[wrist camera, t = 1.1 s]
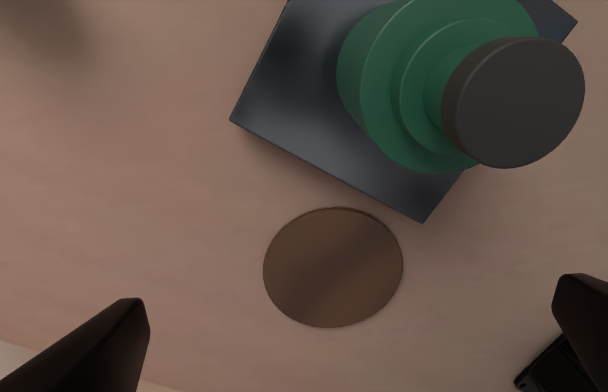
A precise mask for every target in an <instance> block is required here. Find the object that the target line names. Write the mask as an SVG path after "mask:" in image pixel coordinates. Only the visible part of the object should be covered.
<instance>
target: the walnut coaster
mask: <svg viewBox="0 0 608 392" xmlns="http://www.w3.org/2000/svg"><path fill="white" fill-rule="evenodd" d="M402 267H403V262H402V254H401V251H400V248H399V245H398V243H397V241H396V239H395V238H394V236H393V234H392V233H391V232H390V230H389V229H388V228H387V227H386V226H385V225H384V224H383V223H381V222H380V221H379V220H377V219H376V218H374V217H372V216H371V215H368V214H366V213H364V212H361V211H358V210H354V209H348V208H324V209H319V210H315V211H312V212H309V213H306V214H304V215H302V216H299V217H297V218H296V219H294V220H293V221H291V222H290V223H288V224H287V225H286V226H285V227H283V228H282V229H281V230H280V231H279V233H278V234H277V235H276V236H275V237H274V239H273V240H272V242H271V243H270V245H269V247H268V249H267V252H266V255H265V259H264V265H263V279H264V284H265V288H266V291H267V293H268V295H269V297H270V299H271V300H272V302H273V303H274V304H275V305H276V306H277V308H278V309H279V310H280V311H282V312H283V313H284V314H285V315H287V316H288V317H290V318H291V319H293V320H295V321H297V322H300V323H303V324H305V325H309V326H314V327H321V328H335V327H343V326H348V325H352V324H355V323H358V322H360V321H363V320H365V319H367V318H368V317H370V316H372V315H373V314H375V313H376V312H378V311H379V310H380V309H381V308H382V307H384V306H385V305H386V304H387V302H388V301H389V300H390V299H391V297H392V296H393V295H394V293H395V291H396V289H397V287H398V285H399V282H400V280H401V275H402Z"/></svg>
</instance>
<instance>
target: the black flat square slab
mask: <svg viewBox="0 0 608 392" xmlns="http://www.w3.org/2000/svg"><path fill="white" fill-rule="evenodd" d="M394 1H397V0H288V1H287V3H286V5H285V7H284V9H283V11H282V13H281V15H280V17H279V19H278V22H277V24H276V26H275V28H274V30H273V32H272V34H271V36H270V38H269V40H268V42H267V44H266V46H265V48H264V50H263V52H262V54H261V56H260V58H259V60H258V62H257V64H256V66H255V68H254V70H253V72H252V74H251V76H250V78H249V80H248V82H247V84H246V86H245V88H244V90H243V92H242V94H241V96H240V98H239V100H238V102H237V104H236V106H235V108H234V110H233V112H232V114H231V116H230V118H229V120H230V121H231V122H233V123H235V124H236V125H238V126H240V127H242V128H244V129H246V130H248V131H249V132H251V133H253V134H255V135H257V136H259V137H261V138H262V139H264V140H266V141H268V142H270V143H272V144H274V145H275V146H277V147H279V148H281V149H283V150H285V151H287V152H288V153H290V154H292V155H294V156H296V157H298V158H300V159H301V160H303V161H305V162H307V163H309V164H311V165H313V166H314V167H316V168H318V169H320V170H322V171H324V172H326V173H327V174H329V175H331V176H333V177H335V178H337V179H339V180H340V181H342V182H344V183H346V184H348V185H350V186H352V187H353V188H355V189H357V190H359V191H361V192H363V193H365V194H367V195H368V196H370V197H372V198H374V199H376V200H378V201H380V202H381V203H383V204H385V205H387V206H389V207H391V208H393V209H394V210H396V211H398V212H400V213H402V214H404V215H406V216H407V217H409V218H411V219H413V220H415V221H417V222H419V223H420V224H423V223H424V222H425V220H426V219H427V218H428V217H429V215H430V214H431V213H432V211H433V210H434V209H435V207H436V206H437V205H438V204H439V202H440V201H441V200H442V198H443V197H444V196H445V194H446V193H447V192H448V191H449V189H450V188H451V187H452V185H453V184H454V183H455V181H456V180H457V179H458V178H459V176H460V175H461V174H462V172H463V171H464V170H465V169H464V170H461V171H457V172H452V173H445V174H426V173H421V172H416V171H413V170H409V169H406V168H404V167H402V166H400V165H398V164H396V163H395V162H393V161H392V160H391V159H389V158H388V157H387V156H386V155H385V154H383V153H382V152H381V151H380V150H379V148H378V147H377V146H376V145H375V144H374V143H373V141H372V140H371V139H370V138H369V137H368V136H367V134H366V133H365V132H364V131H363V130H362V129H361V128H360V126H359V125H358V124H357V123H356V122H355V121H354V119H353V118H352V117H351V116H350V115H349V113H348V112H347V111H346V109H345V107H344V106H343V104H342V101H341V99H340V96H339V93H338V89H337V83H336V68H337V61H338V57H339V53H340V50H341V47H342V45H343V43H344V41H345V39H346V37H347V36H348V34H349V33H350V31H351V30H352V28H353V27H354V26H355V25H356V24H357V23H358V22H359V21H360V20H361V19H362V18H363V17H364V16H365V15H367V14H368V13H370V12H371V11H372V10H374V9H376V8H378V7H380V6H383V5H385V4H388V3H391V2H394ZM516 1H517V2H518V3H519V4H520V5H522V7H523V8H524V9H525V10H526V12H527V13H528V14H529V16H530V17H531V19H532V21H533V23H534V25H535V26H536V29H537V32H538V35H539V37H545V38H549V39H552V40H555V41H557V42H559V43H562V42H563V41H564V39H565V38H566V37H567V36H568V34H569V33H570V32H571V30H572V29H573V28H574V26H575V25H576V24H577V20H576V19H574V18H573V17H572V16H571V15H569V14H568V13H567V12H566V11H564V10H563V9H562V8H561V7H559V6H558V5H557V4H556V3H554V2H553V1H552V0H516Z"/></svg>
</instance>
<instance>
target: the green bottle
mask: <svg viewBox="0 0 608 392" xmlns="http://www.w3.org/2000/svg"><path fill="white" fill-rule="evenodd" d="M336 83H337V89H338V93H339V96H340V99H341V101H342V104H343V106H344V107H345V109H346V111H347V112H348V113H349V115H350V116H351V117H352V118H353V119H354V121H355V122H356V123H357V124H358V125H359V126H360V128H361V129H362V130H363V131H364V132H365V133H366V134H367V136H368V137H369V138H370V139H371V140H372V141H373V143H374V144H375V145H376V146H377V147H378V148H379V150H380V151H381V152H382V153H383V154H385V155H386V156H387V157H388V158H389V159H391V160H392V161H393V162H395V163H396V164H398V165H400V166H402V167H404V168H406V169H409V170H413V171H416V172H421V173H426V174H445V173H452V172H457V171H461V170H464V169H467V168H471V167H473V166H475V165H477V164H479V163H481V164H483V165H486V166H489V167H493V168H501V169H507V168H516V167H521V166H525V165H528V164H531V163H533V162H535V161H537V160H539V159H541V158H543V157H544V156H546V155H547V154H549V153H550V152H551V151H553V150H554V149H555V148H556V147H557V146H558V145H559V144H560V143H561V142H562V141H563V140H564V139H565V138H566V137H567V135H568V134H569V133H570V131H571V130H572V128H573V126H574V125H575V123H576V121H577V119H578V117H579V115H580V112H581V109H582V105H583V101H584V94H585V80H584V75H583V71H582V68H581V65H580V64H579V62H578V60H577V58H576V57H575V56H574V54H573V53H572V52H571V51H570V50H569V49H568V48H567V47H566V46H564V45H562V44H561V43H559V42H557V41H555V40H552V39H549V38H545V37H539V35H538V32H537V29H536V26H535V25H534V23H533V21H532V19H531V17H530V16H529V14H528V13H527V12H526V10H525V9H524V8H523V7H522V5H520V4H519V3H518V2H517V1H516V0H397V1H394V2H391V3H388V4H385V5H383V6H380V7H378V8H376V9H374V10H372V11H371V12H370V13H368V14H367V15H365V16H364V17H363V18H362V19H361V20H360V21H359V22H358V23H357V24H356V25H355V26H354V27H353V28H352V30H351V31H350V33H349V34H348V36H347V37H346V39H345V41H344V43H343V45H342V47H341V50H340V53H339V57H338V61H337V68H336Z"/></svg>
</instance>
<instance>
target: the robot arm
mask: <svg viewBox="0 0 608 392" xmlns="http://www.w3.org/2000/svg"><path fill="white" fill-rule="evenodd" d="M551 308H552V313H553V315H554V317H555V319H556V321H557V322H558V324H559V326H560V327H561V329H562V331H563V332H564V333H563V334H562V335H561V336H560V337H558V338H557V339H556V340H555V341H554V342H553V343H552V344H551V345H550V346H549V347H548V348H547V349H546V350H545V351H544V352H543V353H542V354H541V355H540V356H539V357H538V358H537V359H535V360H534V361H533V362H532V363H531V364H530V365H529V366H528V367H527V368H526V369H525V370H524V371H523V372H522V373H521V374H520V375H519V376H518V377H517V378H516V379H515V380H514V382H513V383H514V385H515V386H516V388H517V389H518V390H520V391H523V392H608V282H605V281H602V280H600V279H597V278H594V277H592V276H589V275H587V274H583V273H574V274H564V275H562V276H561V277H560V278H559V280H558V283H557V287H556V290H555V294H554V297H553V301H552V305H551ZM149 340H150V326H149V322H148V318H147V314H146V310H145V306H144V303H143V301H142V299H140V298H123V299H119V300H118V301H116V302H115V303H113V304H112V305H110V306H109V307H107V308H106V309H104V310H103V311H101V312H100V313H99V314H97V315H96V316H94V317H93V318H91V319H90V320H88V321H87V322H85V323H84V324H82V325H81V326H79V327H78V328H76V329H75V330H74V331H72V332H71V333H69V334H68V335H66V336H65V337H63V338H62V339H60V340H59V341H57V342H56V343H54V344H53V345H51V346H50V347H49V348H47V349H46V350H44V351H43V352H41V353H40V354H38V355H37V356H35V357H34V358H32V359H31V360H29V361H28V362H26V363H25V364H24V365H22V366H21V367H19V368H18V369H16V370H15V371H13V372H12V373H10V374H9V375H7V376H6V377H4V378H3V379H2V380H0V392H136V390H137V386H138V381H139V378H140V374H141V370H142V367H143V363H144V359H145V355H146V351H147V347H148V344H149Z"/></svg>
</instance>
